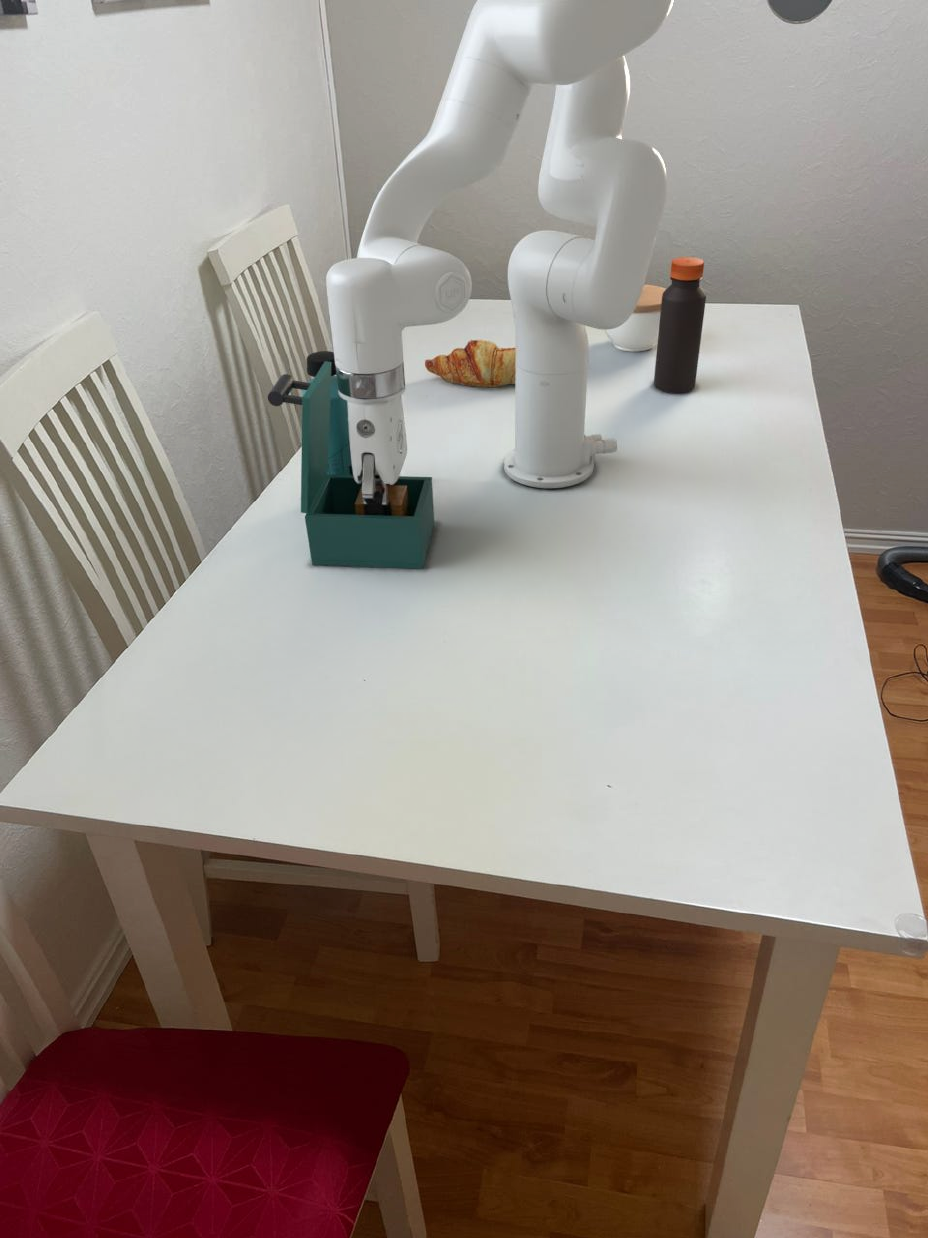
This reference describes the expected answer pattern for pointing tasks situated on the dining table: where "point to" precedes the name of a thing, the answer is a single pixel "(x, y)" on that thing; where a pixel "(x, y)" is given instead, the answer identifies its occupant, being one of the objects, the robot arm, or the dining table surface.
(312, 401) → the lunchbox lid
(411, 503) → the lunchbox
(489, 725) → the dining table surface
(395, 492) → the block
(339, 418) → the beverage bottle
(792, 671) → the dining table surface
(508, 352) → the croissant
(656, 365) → the vinegar
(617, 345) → the lidded bowl
